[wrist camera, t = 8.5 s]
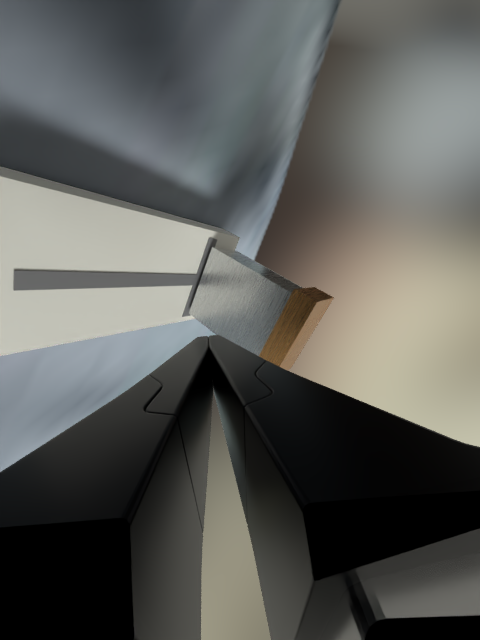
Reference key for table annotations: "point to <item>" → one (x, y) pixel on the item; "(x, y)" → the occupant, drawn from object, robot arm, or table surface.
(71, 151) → the table surface
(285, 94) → the table surface
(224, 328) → the handle
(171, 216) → the block
